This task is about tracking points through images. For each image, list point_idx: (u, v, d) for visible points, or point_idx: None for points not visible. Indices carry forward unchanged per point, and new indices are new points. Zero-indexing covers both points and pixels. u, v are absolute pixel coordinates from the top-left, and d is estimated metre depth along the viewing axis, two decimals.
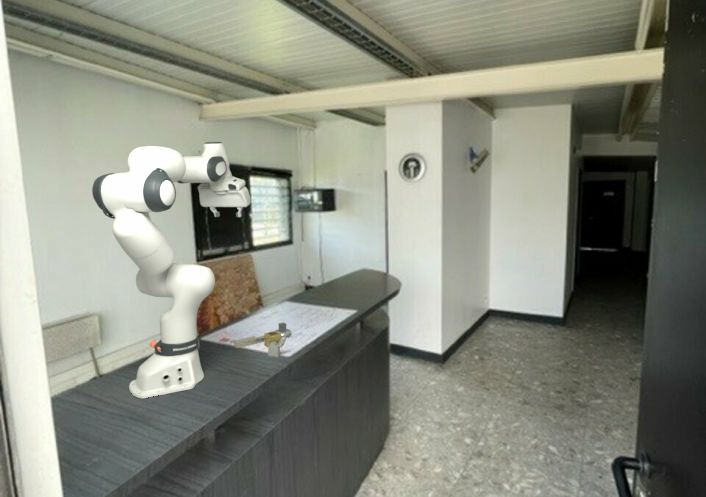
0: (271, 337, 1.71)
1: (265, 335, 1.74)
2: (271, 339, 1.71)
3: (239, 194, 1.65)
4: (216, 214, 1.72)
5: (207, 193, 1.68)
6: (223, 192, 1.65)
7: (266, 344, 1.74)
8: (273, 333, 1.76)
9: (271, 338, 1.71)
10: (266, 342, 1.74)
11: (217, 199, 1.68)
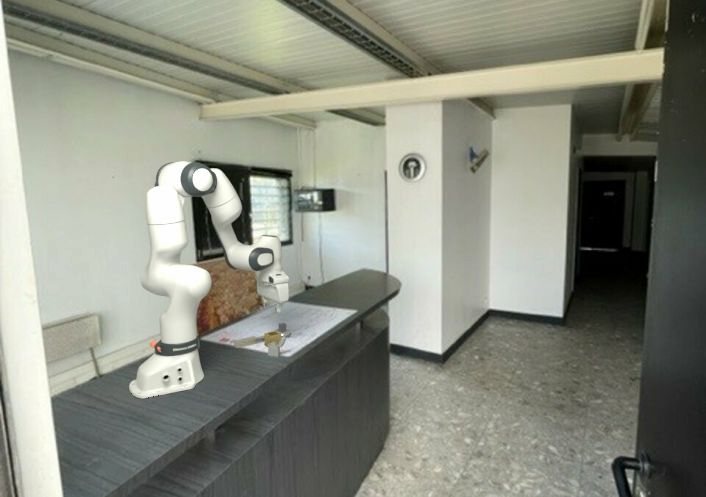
0: (271, 337, 1.71)
1: (265, 335, 1.74)
2: (271, 339, 1.71)
3: (276, 288, 1.64)
4: (265, 304, 1.75)
5: (261, 282, 1.75)
6: (267, 283, 1.68)
7: (266, 344, 1.74)
8: (273, 333, 1.76)
9: (271, 338, 1.71)
10: (266, 342, 1.74)
11: (265, 289, 1.72)
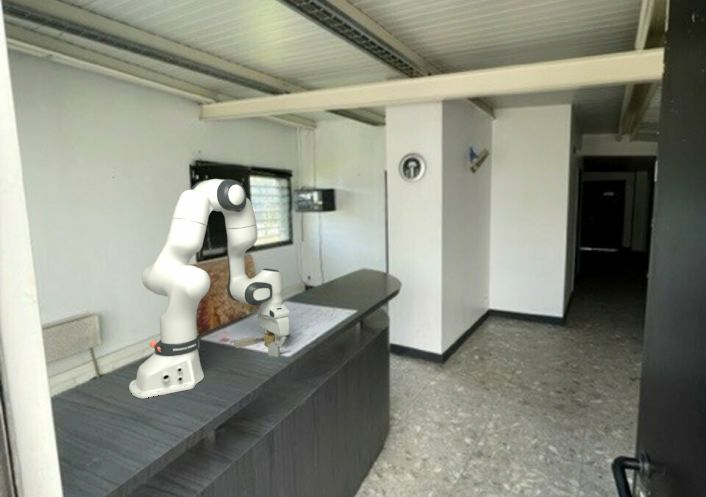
0: (271, 337, 1.71)
1: (265, 335, 1.74)
2: (271, 339, 1.71)
3: (277, 323, 1.66)
4: None
5: (261, 314, 1.76)
6: (267, 317, 1.70)
7: (266, 344, 1.74)
8: (273, 333, 1.76)
9: (271, 338, 1.71)
10: (266, 342, 1.74)
11: (266, 322, 1.74)
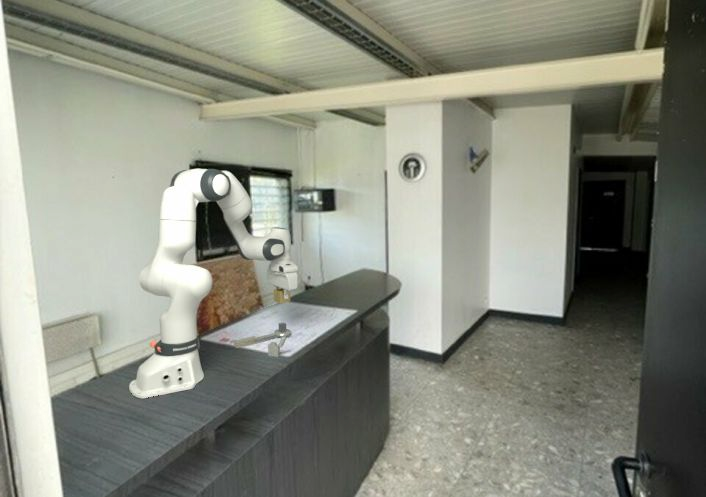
0: (280, 292, 1.81)
1: (274, 291, 1.83)
2: (280, 294, 1.81)
3: (286, 277, 1.76)
4: None
5: (271, 272, 1.86)
6: (277, 273, 1.80)
7: (275, 299, 1.83)
8: (282, 289, 1.86)
9: (280, 293, 1.81)
10: (275, 297, 1.83)
11: (275, 278, 1.83)
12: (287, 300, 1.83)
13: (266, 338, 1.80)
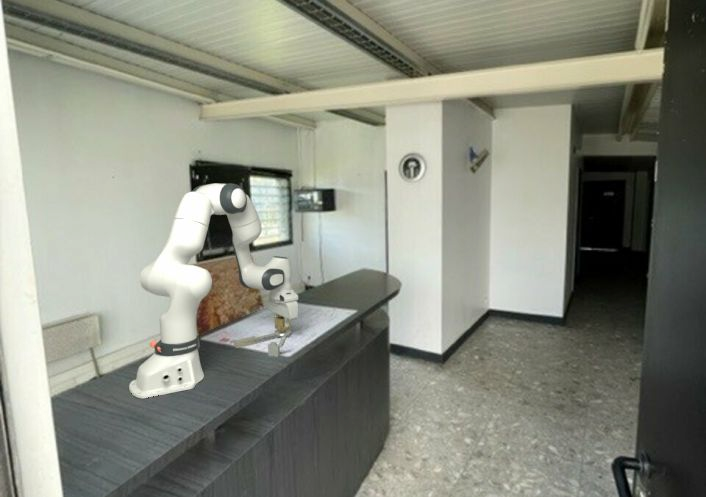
0: (281, 320, 1.82)
1: (275, 319, 1.85)
2: (281, 322, 1.82)
3: (286, 306, 1.77)
4: None
5: (271, 300, 1.88)
6: (278, 301, 1.81)
7: (276, 327, 1.85)
8: (283, 317, 1.88)
9: (281, 321, 1.82)
10: (276, 325, 1.85)
11: (276, 306, 1.85)
12: (288, 328, 1.85)
13: (266, 338, 1.80)
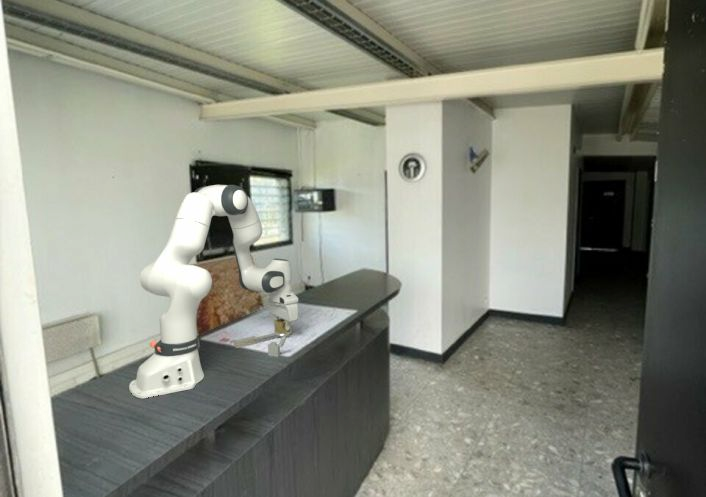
0: (281, 323, 1.82)
1: (275, 321, 1.85)
2: (281, 325, 1.82)
3: (286, 309, 1.77)
4: None
5: (271, 302, 1.88)
6: (278, 303, 1.81)
7: (276, 330, 1.85)
8: (282, 320, 1.88)
9: (281, 324, 1.82)
10: (276, 328, 1.85)
11: (276, 308, 1.85)
12: (287, 331, 1.85)
13: (266, 338, 1.80)
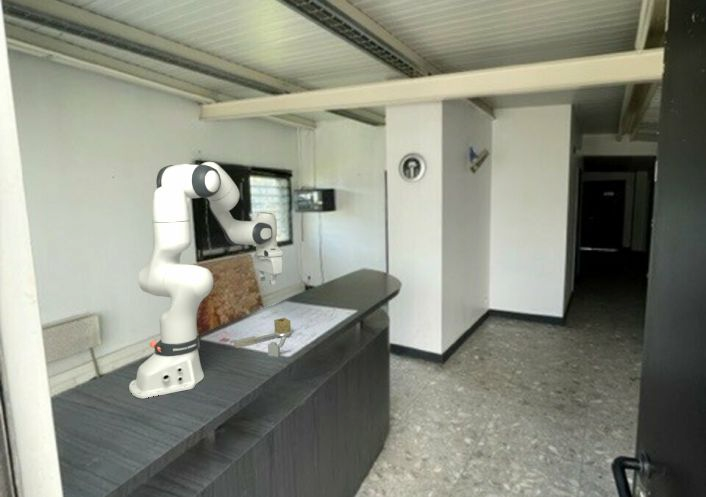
0: (281, 323, 1.82)
1: (275, 321, 1.85)
2: (281, 325, 1.82)
3: (271, 262, 1.77)
4: (260, 278, 1.88)
5: (257, 257, 1.88)
6: (262, 257, 1.81)
7: (276, 330, 1.85)
8: (282, 320, 1.88)
9: (281, 324, 1.82)
10: (276, 328, 1.85)
11: (261, 263, 1.85)
12: (287, 331, 1.85)
13: (266, 338, 1.80)
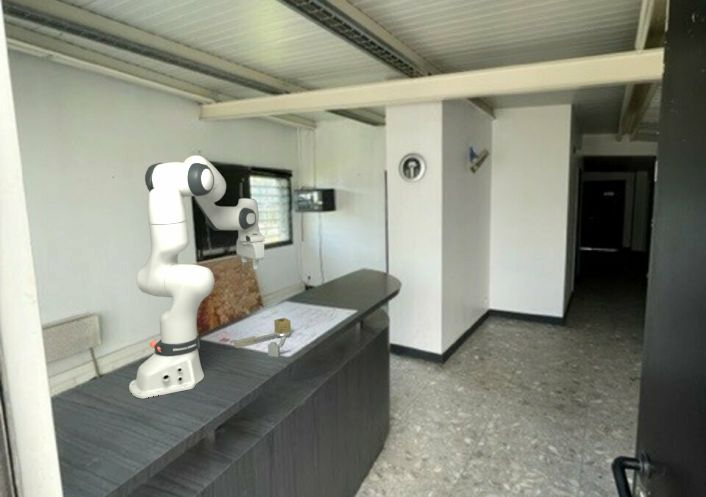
0: (281, 323, 1.82)
1: (275, 321, 1.85)
2: (281, 325, 1.82)
3: (253, 246, 1.79)
4: (243, 263, 1.90)
5: (239, 243, 1.90)
6: (244, 243, 1.83)
7: (276, 330, 1.85)
8: (282, 320, 1.88)
9: (281, 324, 1.82)
10: (276, 328, 1.85)
11: (243, 249, 1.87)
12: (287, 331, 1.85)
13: (266, 338, 1.80)
